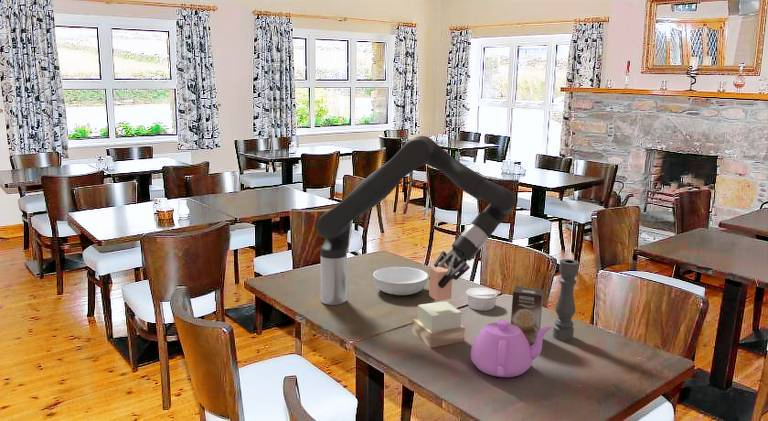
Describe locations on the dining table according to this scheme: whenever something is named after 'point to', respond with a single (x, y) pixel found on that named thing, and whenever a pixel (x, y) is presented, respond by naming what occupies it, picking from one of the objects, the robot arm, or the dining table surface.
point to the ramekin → (481, 298)
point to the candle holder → (566, 300)
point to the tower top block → (439, 316)
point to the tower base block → (437, 334)
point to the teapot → (505, 349)
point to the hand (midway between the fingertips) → (435, 283)
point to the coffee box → (527, 311)
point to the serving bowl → (400, 280)
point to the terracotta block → (434, 289)
